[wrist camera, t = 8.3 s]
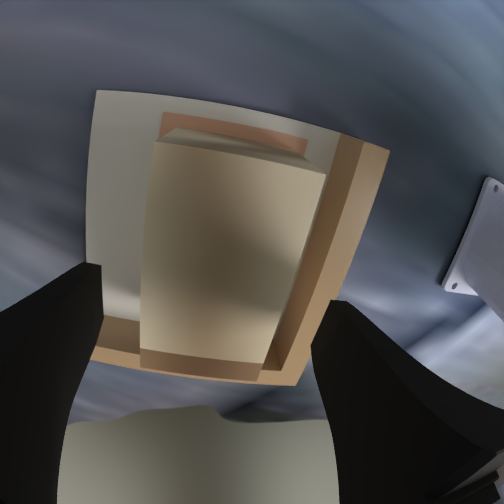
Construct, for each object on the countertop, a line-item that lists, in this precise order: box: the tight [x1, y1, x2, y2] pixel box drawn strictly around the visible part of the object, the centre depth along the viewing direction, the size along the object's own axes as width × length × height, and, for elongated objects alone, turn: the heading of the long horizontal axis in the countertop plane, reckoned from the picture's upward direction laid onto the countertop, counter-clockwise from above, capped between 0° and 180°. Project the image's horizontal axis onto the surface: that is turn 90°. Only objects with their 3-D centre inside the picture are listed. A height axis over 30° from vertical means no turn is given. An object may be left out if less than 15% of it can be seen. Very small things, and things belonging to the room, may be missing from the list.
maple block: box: [140, 127, 326, 381], centre depth 12 cm, size 5×9×4 cm, turn 167°
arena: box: [86, 90, 390, 386], centre depth 14 cm, size 12×13×3 cm
